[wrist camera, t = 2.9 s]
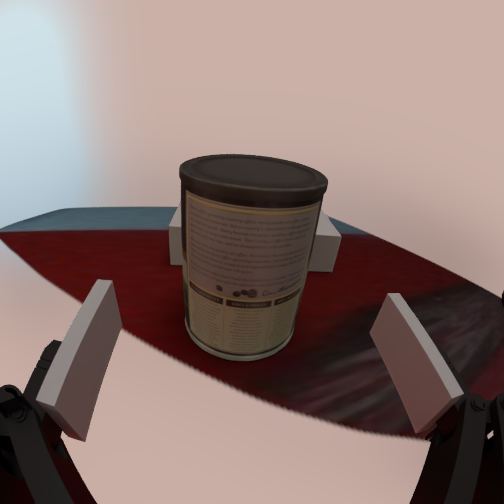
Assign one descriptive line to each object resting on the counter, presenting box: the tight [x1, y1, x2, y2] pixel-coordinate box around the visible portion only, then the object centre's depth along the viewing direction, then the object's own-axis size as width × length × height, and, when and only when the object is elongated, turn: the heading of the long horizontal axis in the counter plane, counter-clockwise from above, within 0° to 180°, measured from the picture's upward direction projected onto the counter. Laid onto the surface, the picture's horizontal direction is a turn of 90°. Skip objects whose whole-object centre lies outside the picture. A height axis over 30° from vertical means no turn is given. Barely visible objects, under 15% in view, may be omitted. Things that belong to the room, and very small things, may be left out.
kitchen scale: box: [169, 202, 342, 272], centre depth 39 cm, size 15×21×6 cm
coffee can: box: [179, 154, 328, 361], centre depth 22 cm, size 10×10×14 cm
